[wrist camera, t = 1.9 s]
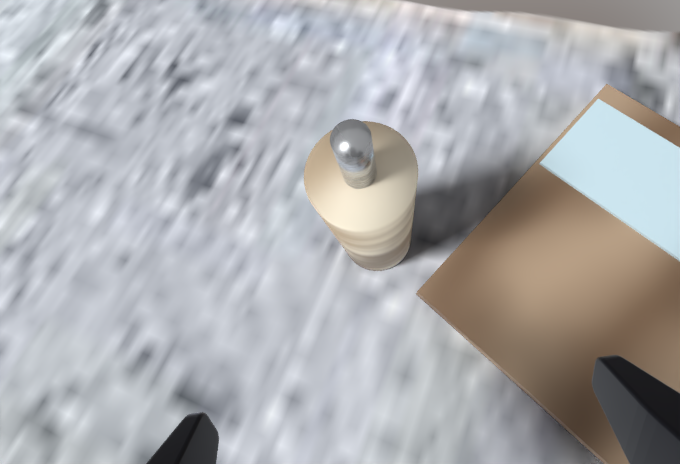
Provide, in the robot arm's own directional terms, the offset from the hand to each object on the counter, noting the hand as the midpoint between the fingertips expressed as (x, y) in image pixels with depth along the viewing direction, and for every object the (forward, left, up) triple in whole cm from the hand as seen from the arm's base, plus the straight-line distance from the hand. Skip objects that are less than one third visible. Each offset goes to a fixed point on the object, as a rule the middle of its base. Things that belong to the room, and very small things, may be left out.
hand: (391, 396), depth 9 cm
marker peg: (+5, -4, -13) cm, 14 cm away
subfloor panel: (-8, -11, -13) cm, 19 cm away
